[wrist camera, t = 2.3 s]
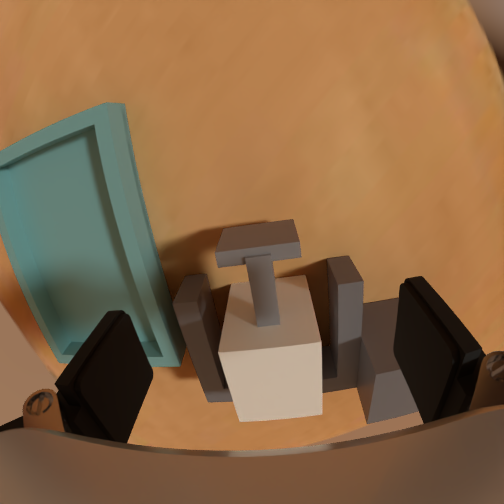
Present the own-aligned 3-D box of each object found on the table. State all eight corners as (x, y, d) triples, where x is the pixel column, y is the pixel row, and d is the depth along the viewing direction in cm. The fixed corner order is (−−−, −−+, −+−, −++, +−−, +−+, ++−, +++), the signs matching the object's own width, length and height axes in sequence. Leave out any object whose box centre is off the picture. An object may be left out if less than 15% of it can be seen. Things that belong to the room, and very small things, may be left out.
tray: (3, 156, 17) (-18, 161, 15) (124, 103, 16) (106, 102, 14) (70, 345, 24) (59, 362, 22) (186, 344, 23) (180, 366, 21)
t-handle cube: (218, 221, 19) (196, 272, 13) (298, 210, 19) (317, 258, 12) (245, 349, 23) (239, 421, 17) (310, 342, 23) (322, 414, 16)
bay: (185, 275, 21) (155, 341, 14) (438, 242, 19) (493, 291, 13) (213, 370, 24) (201, 439, 18) (423, 340, 23) (456, 398, 16)
